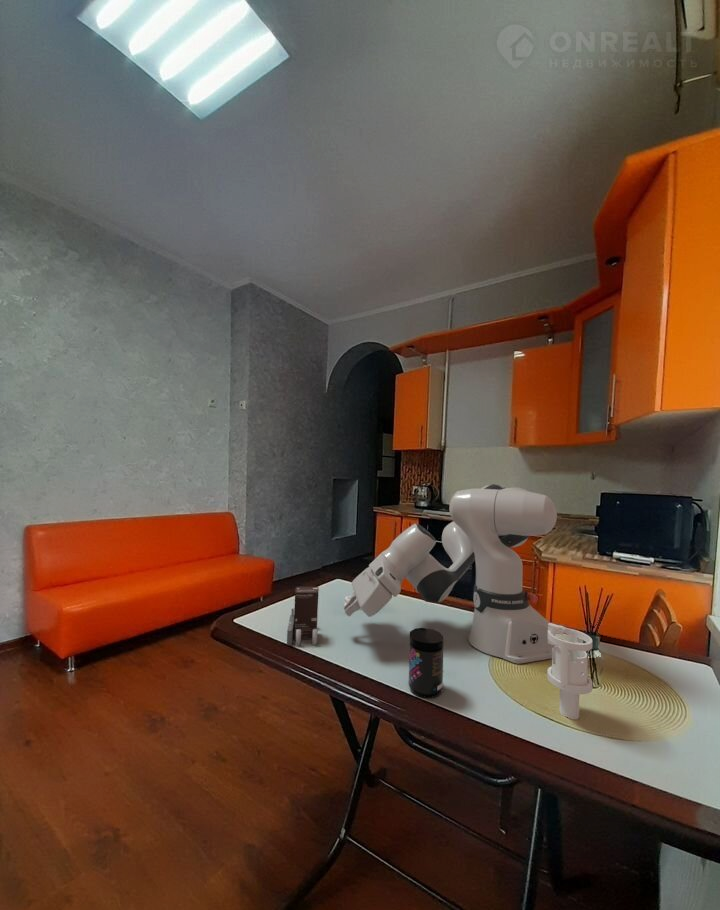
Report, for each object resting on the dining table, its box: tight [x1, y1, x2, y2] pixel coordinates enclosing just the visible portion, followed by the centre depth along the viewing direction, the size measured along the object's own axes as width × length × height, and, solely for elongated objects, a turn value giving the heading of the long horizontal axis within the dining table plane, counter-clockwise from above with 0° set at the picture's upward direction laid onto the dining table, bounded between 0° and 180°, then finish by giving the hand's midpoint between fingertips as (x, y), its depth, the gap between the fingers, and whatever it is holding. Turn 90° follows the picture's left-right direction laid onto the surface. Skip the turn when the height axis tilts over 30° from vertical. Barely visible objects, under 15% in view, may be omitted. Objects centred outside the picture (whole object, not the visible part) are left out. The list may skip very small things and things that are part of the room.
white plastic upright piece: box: [546, 622, 593, 720], centre depth 65 cm, size 7×7×15 cm
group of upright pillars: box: [286, 607, 319, 647], centre depth 92 cm, size 7×10×5 cm
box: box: [293, 586, 320, 641], centre depth 92 cm, size 6×4×12 cm
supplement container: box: [408, 627, 445, 699], centre depth 71 cm, size 7×7×10 cm
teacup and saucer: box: [343, 591, 363, 611], centre depth 115 cm, size 9×8×4 cm
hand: (346, 612), depth 93 cm, fingers closed
